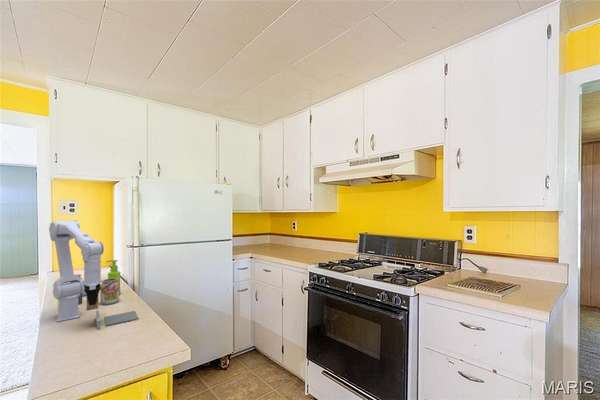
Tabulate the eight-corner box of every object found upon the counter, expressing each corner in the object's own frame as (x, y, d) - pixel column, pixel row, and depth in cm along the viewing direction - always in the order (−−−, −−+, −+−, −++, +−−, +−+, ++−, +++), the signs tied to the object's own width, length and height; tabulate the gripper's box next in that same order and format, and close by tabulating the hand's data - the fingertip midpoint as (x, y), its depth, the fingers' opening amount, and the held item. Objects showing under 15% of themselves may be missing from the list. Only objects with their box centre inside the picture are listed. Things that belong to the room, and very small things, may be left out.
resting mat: (104, 318, 130) (104, 316, 130) (134, 312, 137) (134, 310, 138) (105, 326, 121) (105, 325, 121) (138, 319, 128) (138, 318, 128)
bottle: (74, 306, 148) (74, 276, 148) (65, 306, 149) (65, 276, 149) (85, 302, 153) (85, 274, 154) (76, 302, 155) (76, 273, 155)
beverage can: (98, 307, 146) (98, 283, 146) (97, 303, 153) (97, 280, 153) (120, 303, 152) (120, 279, 152) (117, 299, 158) (117, 277, 159)
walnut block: (86, 308, 124) (86, 293, 124) (98, 306, 126) (98, 292, 126) (86, 310, 120) (86, 296, 120) (98, 308, 123) (98, 294, 123)
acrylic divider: (96, 318, 130) (96, 310, 130) (98, 317, 131) (98, 310, 131) (97, 330, 117) (97, 321, 117) (100, 329, 118) (100, 320, 118)
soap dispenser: (109, 294, 169) (109, 259, 169) (122, 293, 169) (122, 259, 170) (103, 297, 163) (103, 261, 163) (116, 296, 163) (116, 260, 164)
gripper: (104, 272, 120) (104, 305, 120) (103, 267, 132) (103, 297, 131) (83, 275, 116) (83, 309, 115) (83, 269, 128) (83, 300, 127)
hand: (92, 303), depth 123 cm, fingers closed on walnut block, 4 cm apart
